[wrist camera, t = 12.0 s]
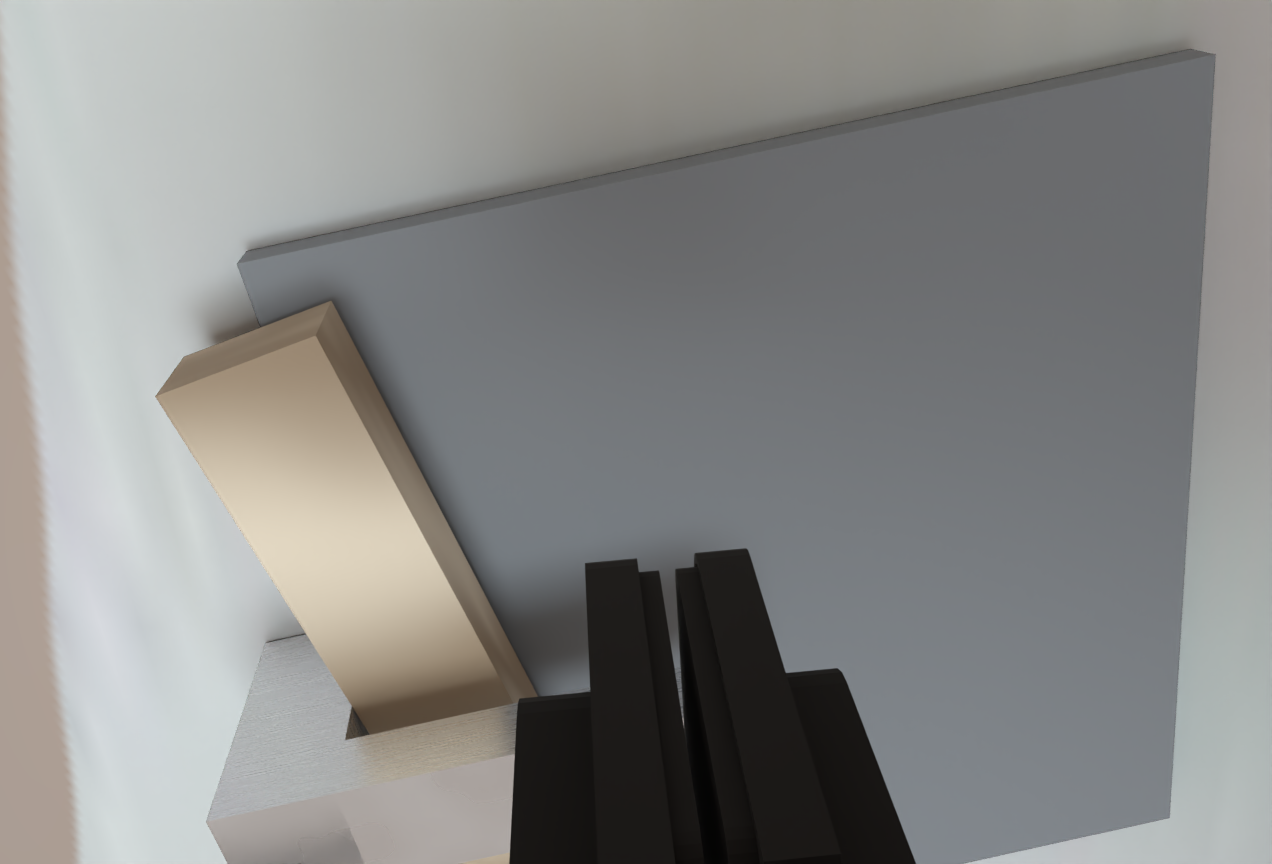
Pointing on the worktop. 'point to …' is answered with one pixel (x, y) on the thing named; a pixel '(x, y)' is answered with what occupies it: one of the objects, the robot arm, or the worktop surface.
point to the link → (344, 522)
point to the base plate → (842, 419)
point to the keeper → (359, 776)
